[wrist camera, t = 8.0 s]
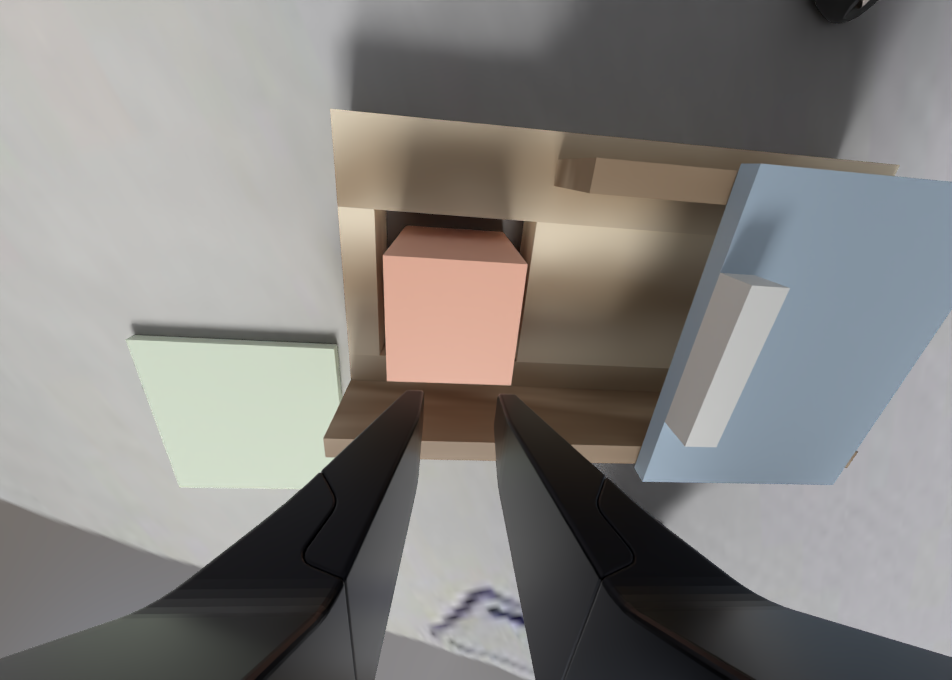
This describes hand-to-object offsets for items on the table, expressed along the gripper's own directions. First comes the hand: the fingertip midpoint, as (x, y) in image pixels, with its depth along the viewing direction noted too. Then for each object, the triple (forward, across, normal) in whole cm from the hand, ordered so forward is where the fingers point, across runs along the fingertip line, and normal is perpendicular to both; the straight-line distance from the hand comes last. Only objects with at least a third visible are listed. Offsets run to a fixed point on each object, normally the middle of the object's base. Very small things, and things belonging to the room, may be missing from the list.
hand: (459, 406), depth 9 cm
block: (+12, 0, 0) cm, 12 cm away
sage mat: (+12, +12, +10) cm, 20 cm away
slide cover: (+5, -13, 0) cm, 14 cm away
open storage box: (+12, -7, 0) cm, 14 cm away
